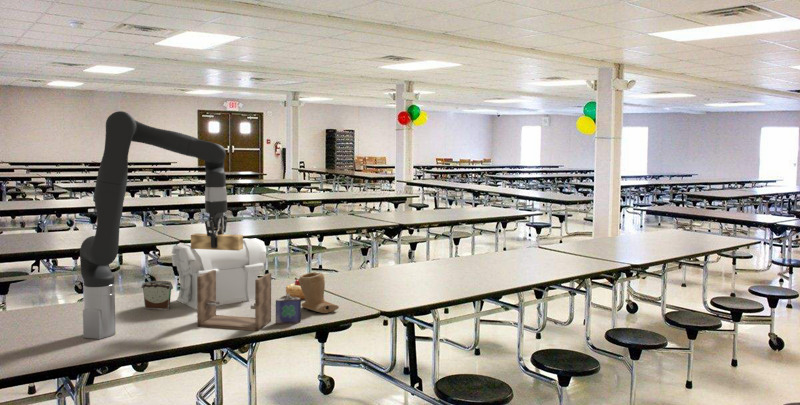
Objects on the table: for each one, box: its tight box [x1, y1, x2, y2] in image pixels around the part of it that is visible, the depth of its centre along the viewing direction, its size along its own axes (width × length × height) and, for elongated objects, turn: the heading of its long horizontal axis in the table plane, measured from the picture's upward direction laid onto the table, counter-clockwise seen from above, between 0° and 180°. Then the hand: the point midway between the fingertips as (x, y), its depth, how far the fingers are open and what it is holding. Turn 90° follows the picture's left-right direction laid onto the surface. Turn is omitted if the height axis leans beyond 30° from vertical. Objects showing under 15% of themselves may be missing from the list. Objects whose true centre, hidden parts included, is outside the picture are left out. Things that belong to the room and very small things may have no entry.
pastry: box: [285, 278, 305, 300], centre depth 262 cm, size 12×12×9 cm
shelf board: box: [190, 233, 244, 250], centre depth 220 cm, size 18×4×5 cm, turn 82°
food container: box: [140, 280, 174, 311], centre depth 240 cm, size 12×6×10 cm, turn 84°
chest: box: [171, 237, 267, 310], centre depth 253 cm, size 35×23×25 cm, turn 133°
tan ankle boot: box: [298, 271, 340, 314], centre depth 241 cm, size 15×12×15 cm
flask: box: [275, 293, 302, 325], centre depth 223 cm, size 9×3×11 cm, turn 109°
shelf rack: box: [196, 270, 272, 332], centre depth 219 cm, size 12×23×18 cm, turn 81°
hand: (217, 246), depth 220 cm, fingers closed on shelf board, 4 cm apart
